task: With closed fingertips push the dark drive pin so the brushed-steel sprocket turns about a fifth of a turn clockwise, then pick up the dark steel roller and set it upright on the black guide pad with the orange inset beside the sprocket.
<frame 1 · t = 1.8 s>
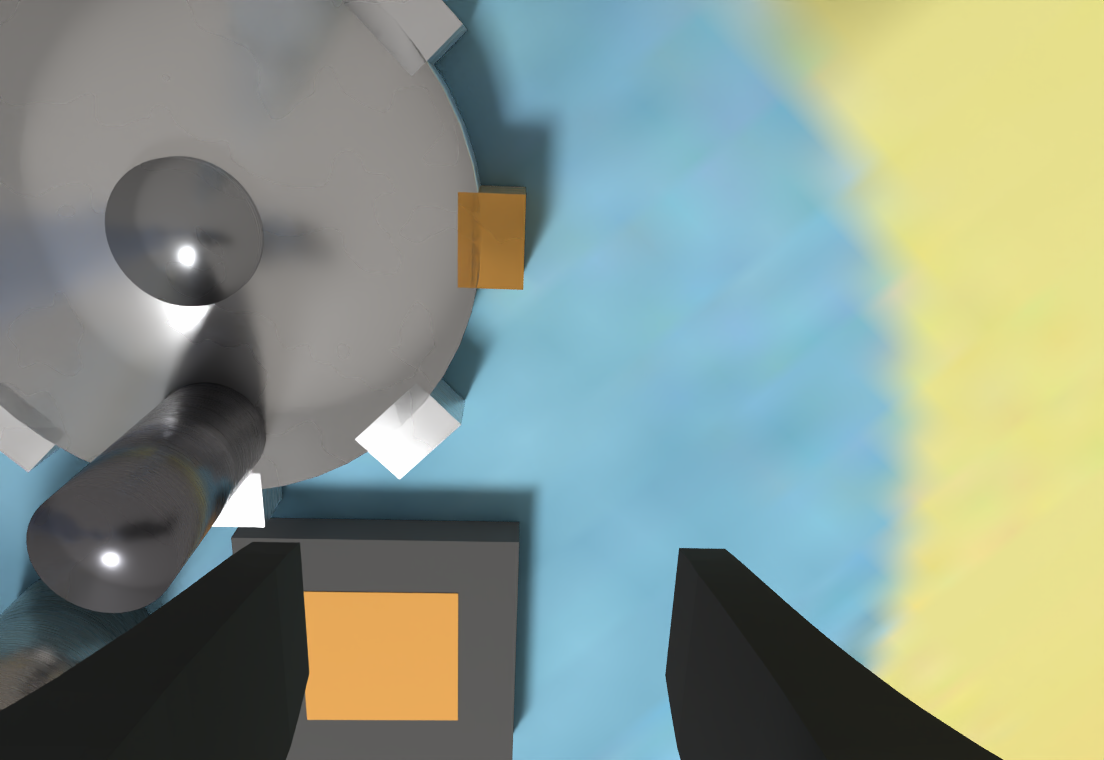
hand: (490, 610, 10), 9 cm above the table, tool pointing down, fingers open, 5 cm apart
guide pad: (386, 633, 22), on the table
roller: (84, 629, 21), on the table
sprocket: (152, 246, 15), point 3 cm above the table, hinge at 0.0°
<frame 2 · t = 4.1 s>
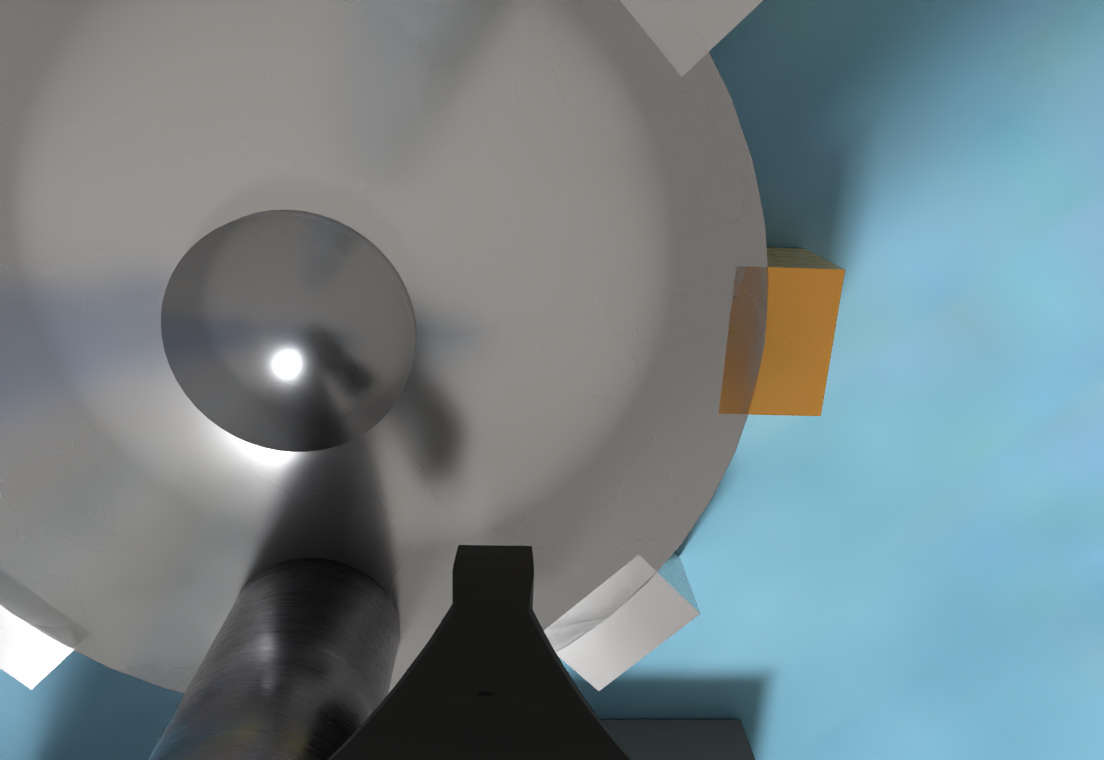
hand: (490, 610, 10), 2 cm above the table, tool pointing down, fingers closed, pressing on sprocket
sprocket: (254, 375, 8), point 3 cm above the table, hinge at 0.0°, touching gripper
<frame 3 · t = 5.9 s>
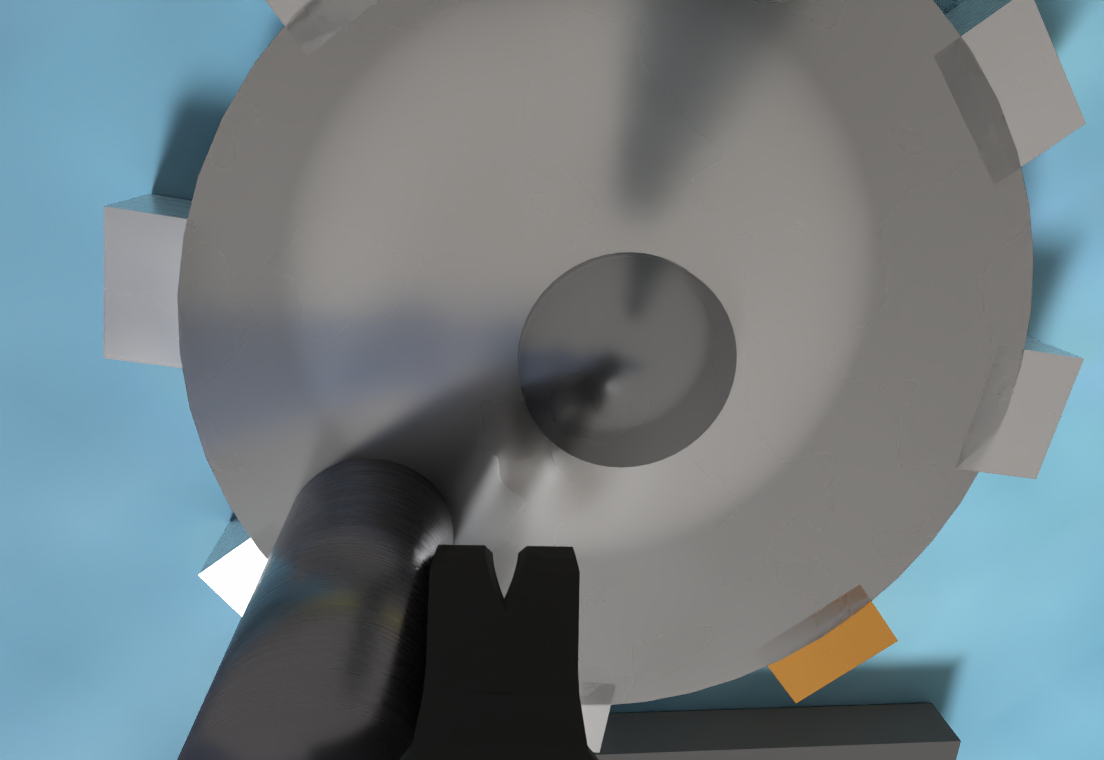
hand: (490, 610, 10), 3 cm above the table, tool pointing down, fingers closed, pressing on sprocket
sprocket: (650, 401, 10), point 3 cm above the table, hinge at -52.5°, touching gripper
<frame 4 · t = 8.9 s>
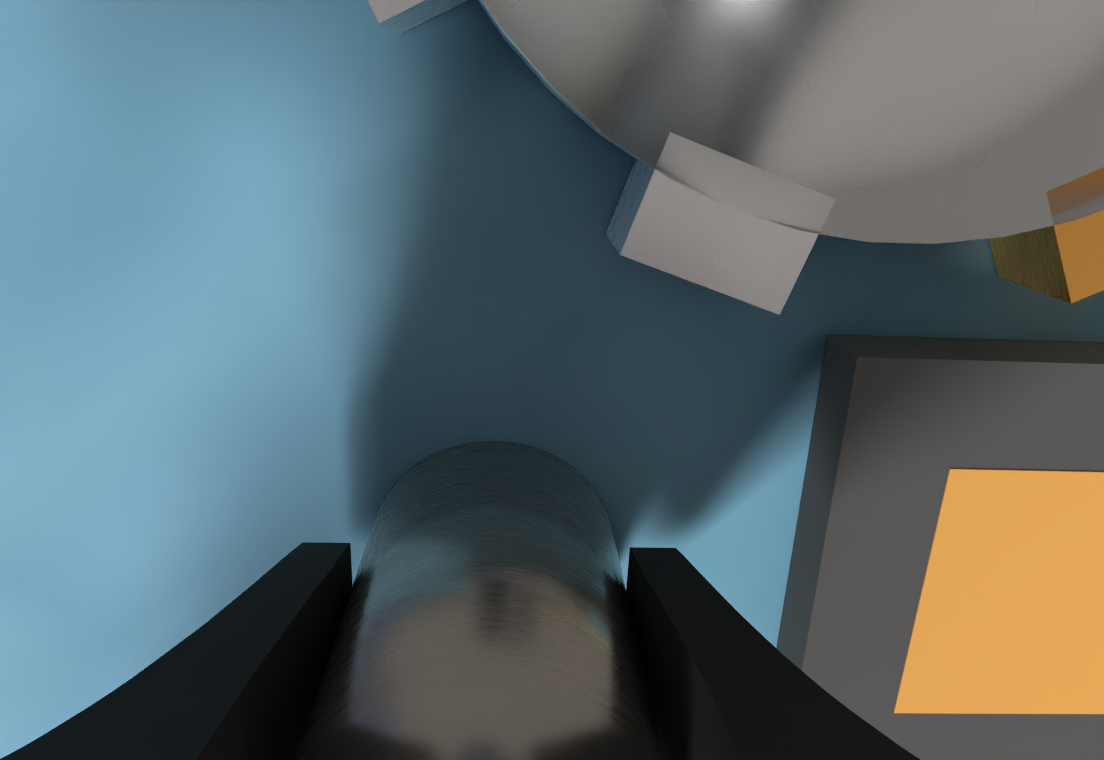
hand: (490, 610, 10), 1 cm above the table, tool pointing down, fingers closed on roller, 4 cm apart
guide pad: (1015, 560, 12), on the table
roller: (493, 552, 12), on the table, touching gripper
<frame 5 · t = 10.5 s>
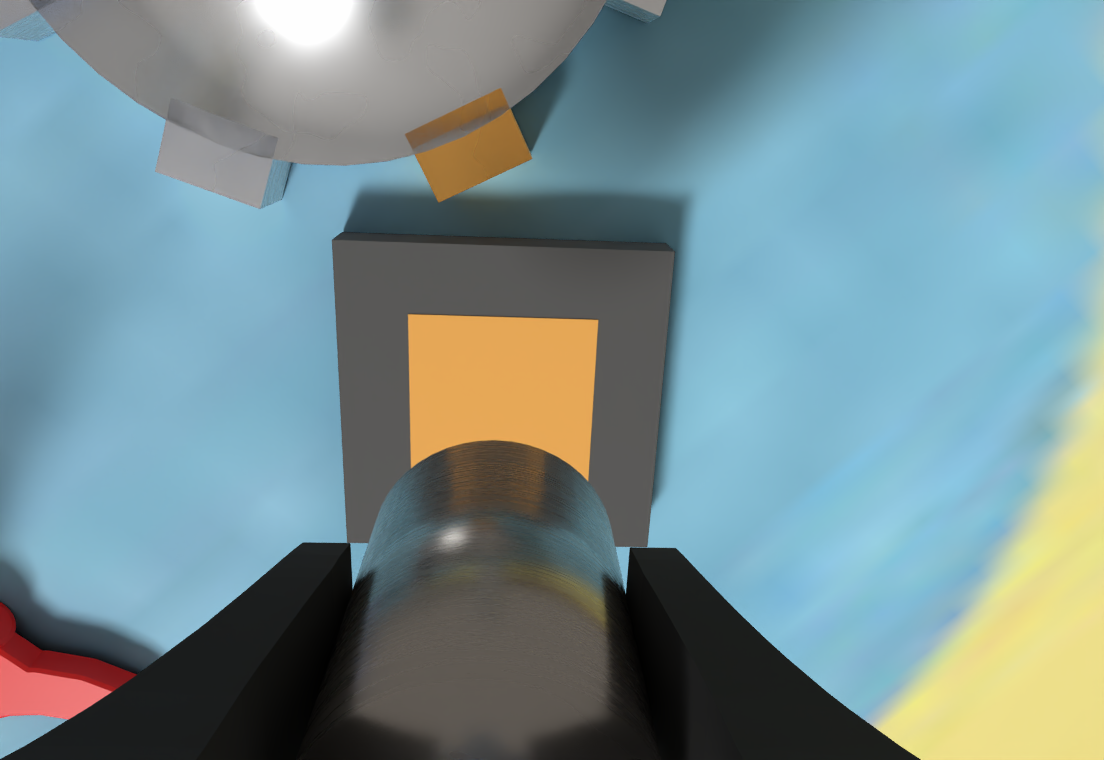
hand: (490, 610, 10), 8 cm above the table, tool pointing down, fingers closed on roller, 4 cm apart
guide pad: (502, 389, 18), on the table
roller: (493, 549, 12), point 7 cm above the table, touching gripper
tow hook: (56, 752, 22), on the table
when the fingers open (3 cm above the table, at t = 11.8 s): roller stays where it is, resting on guide pad.
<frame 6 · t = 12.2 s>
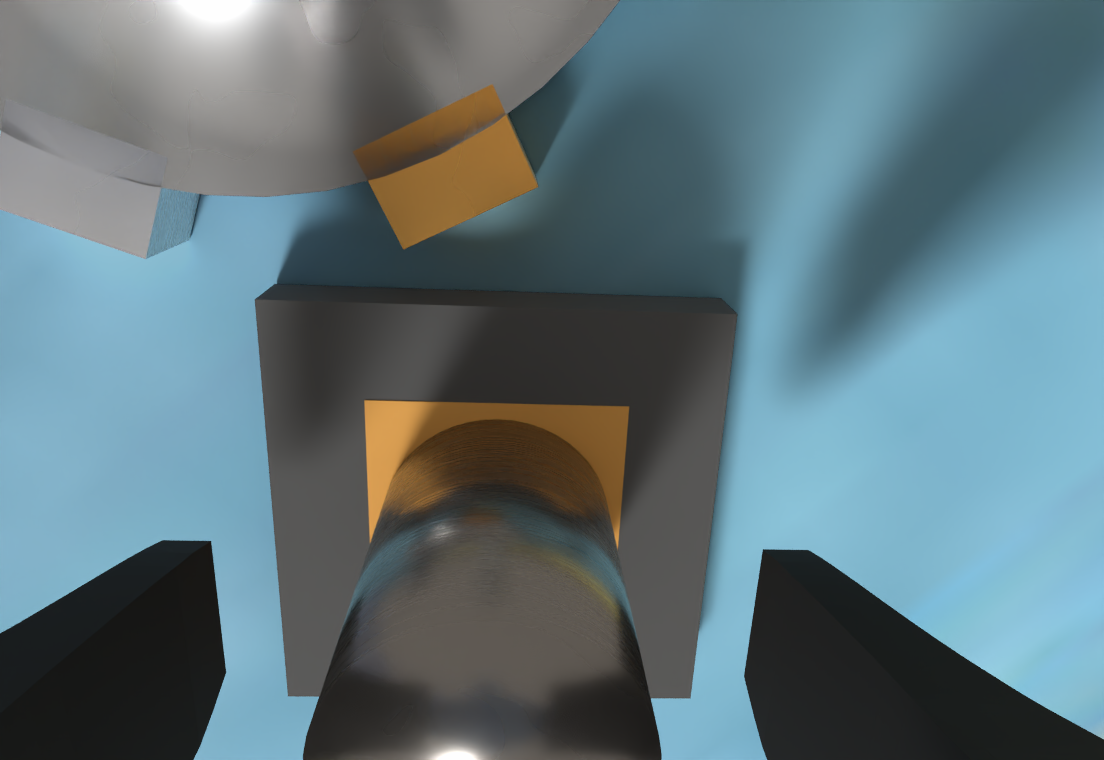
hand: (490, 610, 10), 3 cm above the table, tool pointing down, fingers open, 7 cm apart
guide pad: (497, 490, 14), on the table
roller: (496, 523, 13), point 1 cm above the table, touching guide pad
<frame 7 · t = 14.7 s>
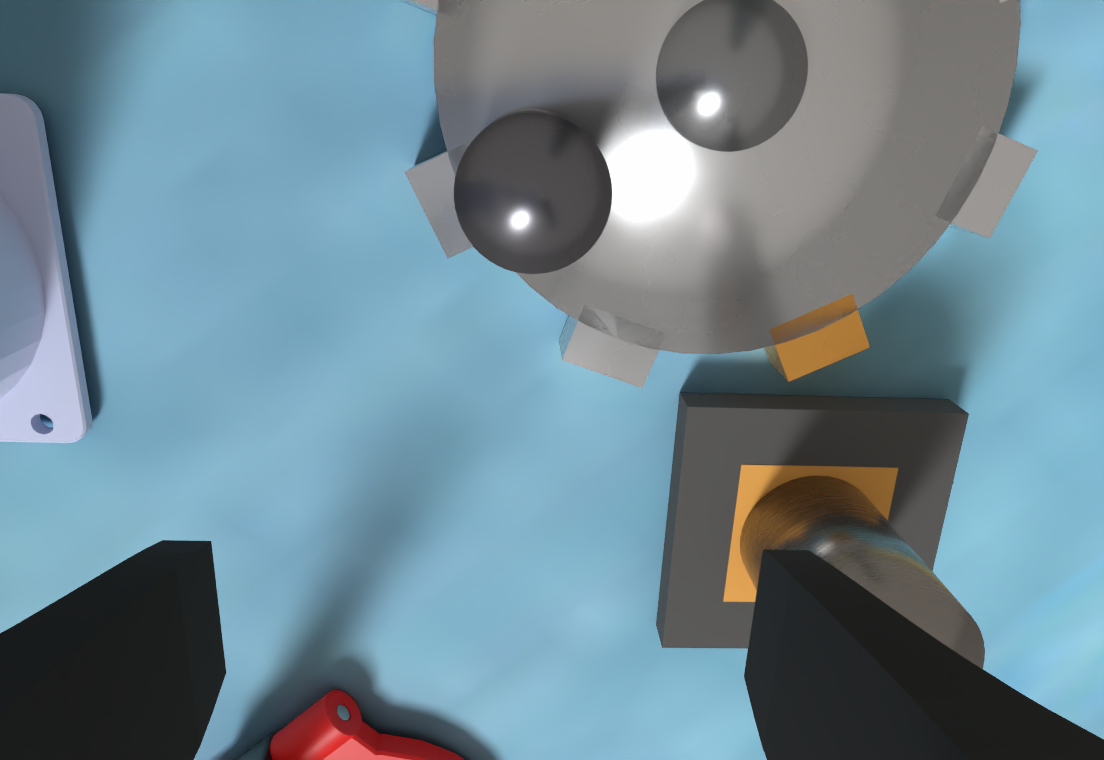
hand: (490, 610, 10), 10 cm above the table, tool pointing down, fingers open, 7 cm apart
guide pad: (795, 517, 22), on the table
roller: (808, 538, 21), point 1 cm above the table, touching guide pad
sprocket: (752, 71, 15), point 3 cm above the table, hinge at -63.4°
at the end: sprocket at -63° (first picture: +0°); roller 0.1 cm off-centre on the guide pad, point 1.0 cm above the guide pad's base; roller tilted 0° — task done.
